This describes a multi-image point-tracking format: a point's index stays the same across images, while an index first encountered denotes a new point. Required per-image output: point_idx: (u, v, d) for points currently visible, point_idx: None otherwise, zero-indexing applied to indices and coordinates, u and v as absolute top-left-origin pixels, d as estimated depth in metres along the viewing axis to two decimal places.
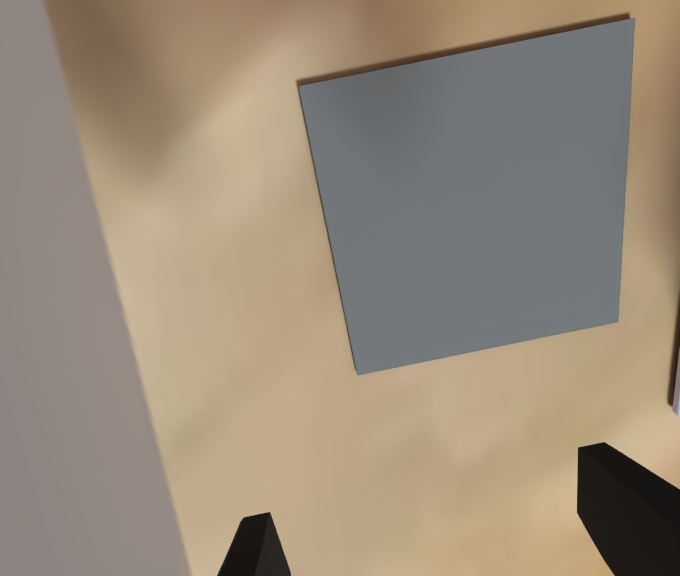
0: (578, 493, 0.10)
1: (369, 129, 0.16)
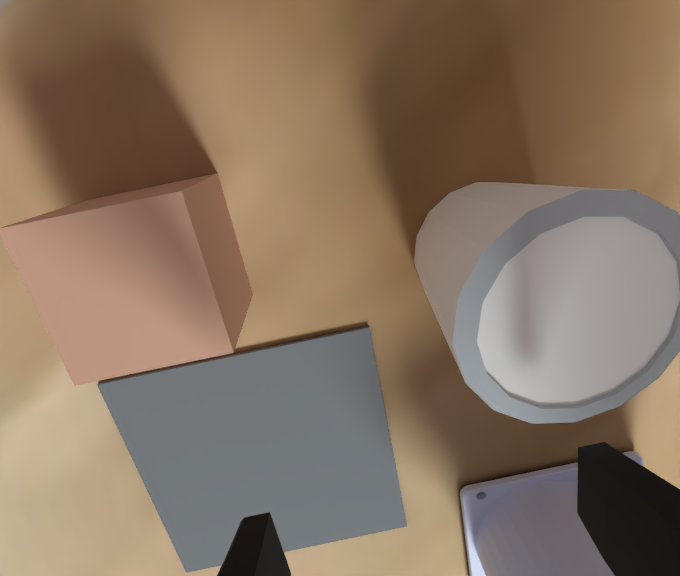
0: (578, 493, 0.10)
1: (162, 409, 0.19)
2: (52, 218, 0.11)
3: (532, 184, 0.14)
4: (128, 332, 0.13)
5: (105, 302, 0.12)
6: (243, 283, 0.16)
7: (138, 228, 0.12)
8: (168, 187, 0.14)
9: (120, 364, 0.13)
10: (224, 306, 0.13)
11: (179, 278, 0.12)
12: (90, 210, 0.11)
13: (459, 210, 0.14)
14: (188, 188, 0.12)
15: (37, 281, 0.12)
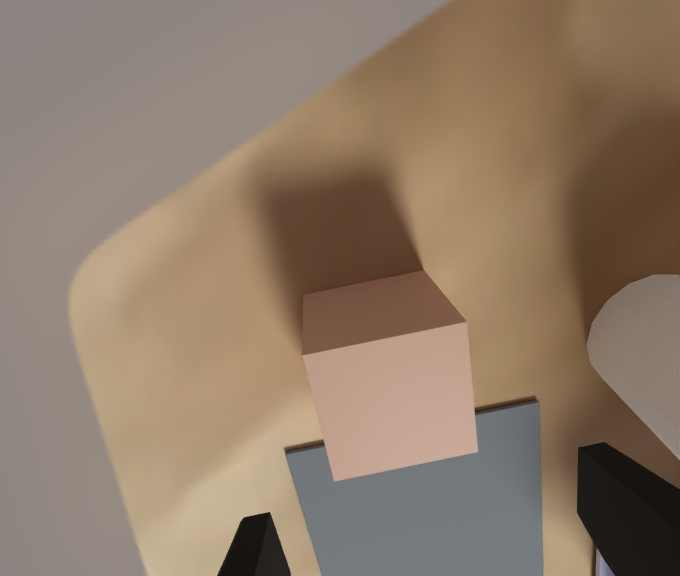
0: (578, 493, 0.10)
1: None
2: (351, 346, 0.13)
3: None
4: (392, 437, 0.14)
5: (378, 413, 0.14)
6: None
7: (422, 352, 0.13)
8: (409, 297, 0.15)
9: (378, 463, 0.14)
10: None
11: (446, 392, 0.14)
12: (385, 338, 0.13)
13: (667, 315, 0.16)
14: (458, 312, 0.13)
15: (324, 397, 0.13)
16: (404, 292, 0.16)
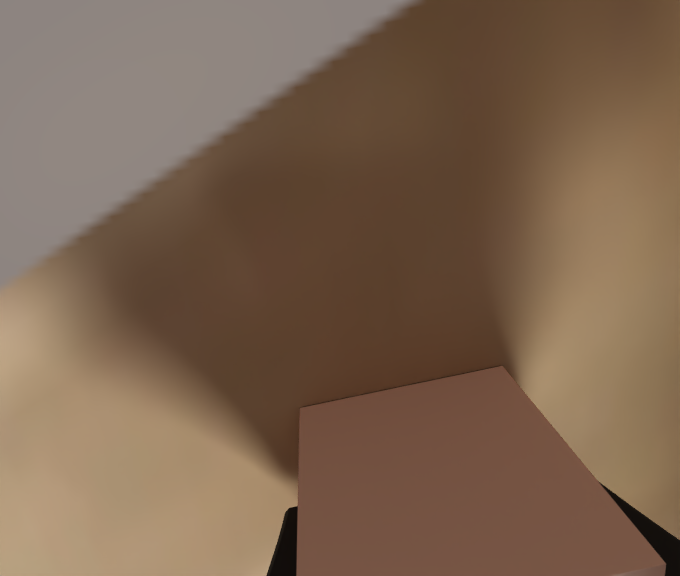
0: None
1: None
2: None
3: None
4: None
5: None
6: None
7: None
8: (500, 446, 0.08)
9: None
10: None
11: None
12: None
13: None
14: (626, 517, 0.06)
15: None
16: (484, 428, 0.08)
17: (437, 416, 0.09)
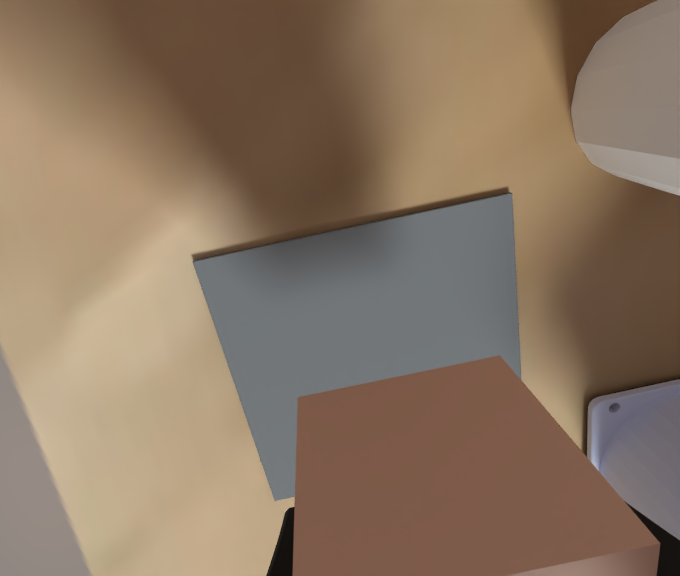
0: None
1: (265, 295, 0.16)
2: None
3: None
4: None
5: None
6: None
7: None
8: (496, 432, 0.08)
9: None
10: None
11: None
12: None
13: None
14: (621, 499, 0.06)
15: None
16: (481, 415, 0.09)
17: (434, 404, 0.09)
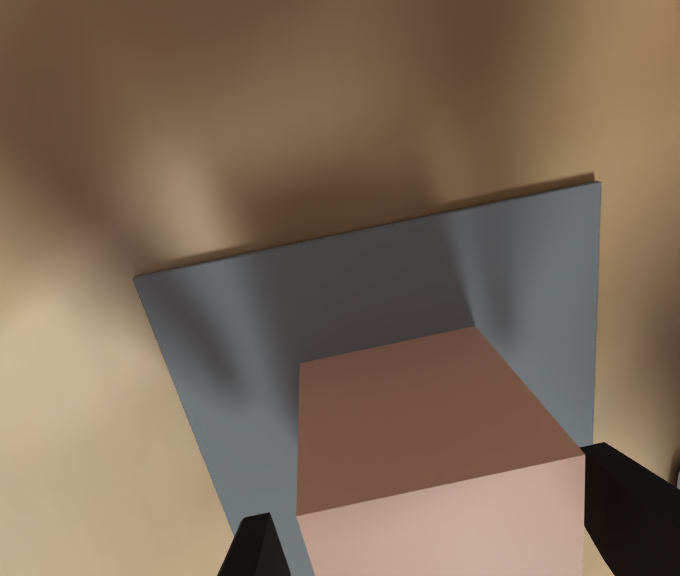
0: None
1: (239, 326, 0.11)
2: (382, 499, 0.07)
3: None
4: None
5: None
6: None
7: (505, 503, 0.07)
8: (466, 384, 0.10)
9: None
10: None
11: (540, 559, 0.08)
12: (442, 485, 0.07)
13: None
14: (560, 427, 0.08)
15: (335, 575, 0.08)
16: (455, 372, 0.10)
17: (416, 365, 0.11)
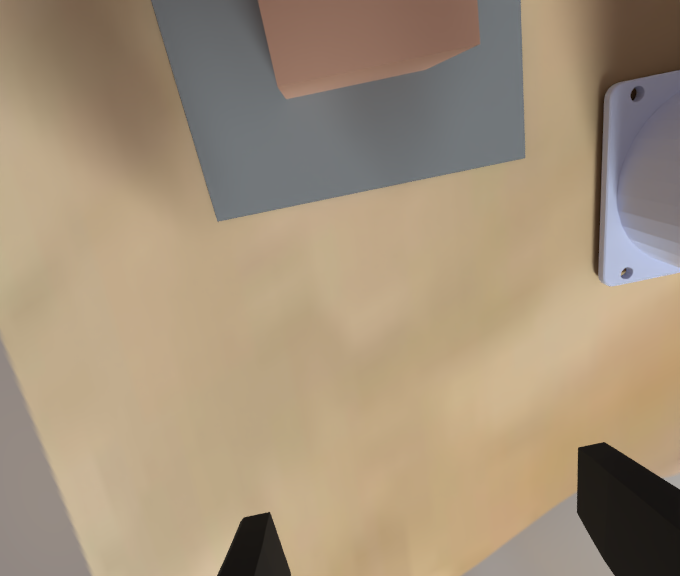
0: (578, 493, 0.10)
1: None
2: None
3: None
4: (357, 3, 0.10)
5: None
6: None
7: None
8: None
9: (339, 55, 0.10)
10: None
11: None
12: None
13: None
14: None
15: None
16: None
17: None
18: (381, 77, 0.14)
